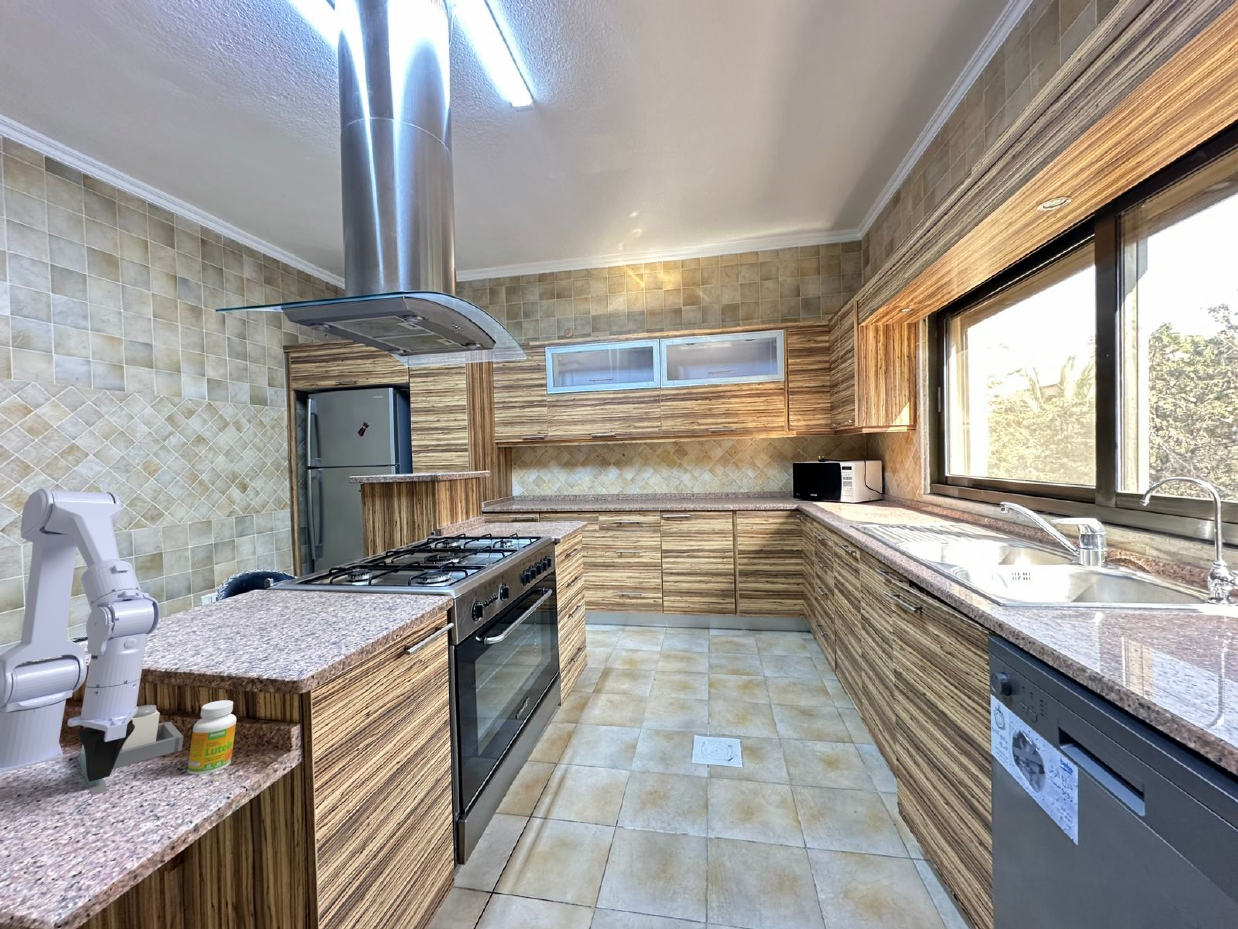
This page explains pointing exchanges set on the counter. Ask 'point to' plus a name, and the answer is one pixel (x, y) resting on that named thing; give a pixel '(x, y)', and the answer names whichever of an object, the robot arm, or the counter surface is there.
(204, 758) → the supplement bottle
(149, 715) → the cream block with knob
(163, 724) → the housing
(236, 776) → the counter surface
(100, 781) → the teal long flat bar
